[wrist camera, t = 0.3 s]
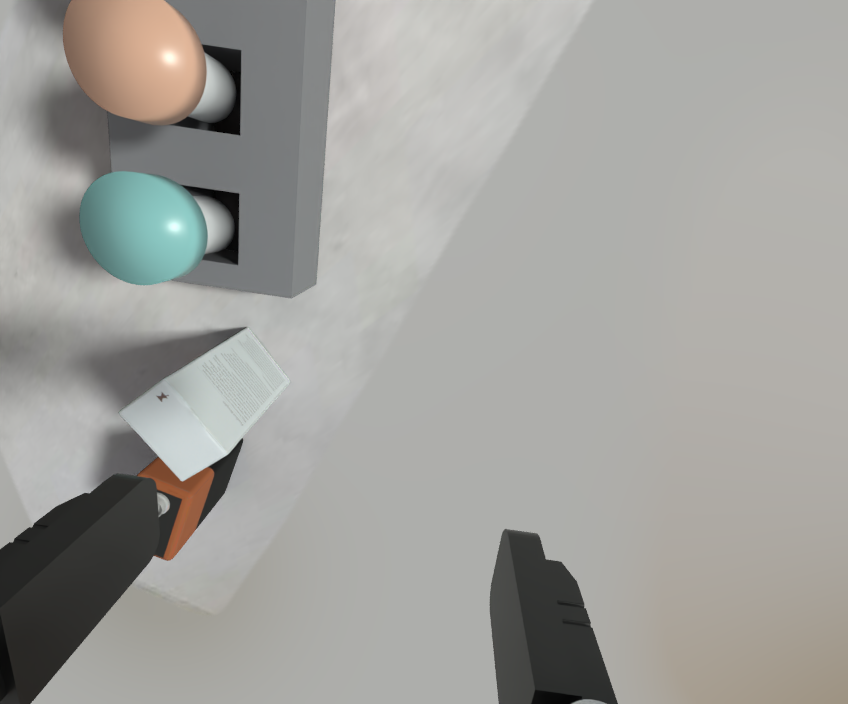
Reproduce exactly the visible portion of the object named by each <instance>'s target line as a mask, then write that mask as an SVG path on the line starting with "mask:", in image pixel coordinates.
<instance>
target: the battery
mask: <svg viewBox="0 0 848 704" xmlns="http://www.w3.org/2000/svg"><path fill="white" fill-rule="evenodd" d="M242 443H243V438H242V439H241V440H240V441H239V442H238V443H237V445H236V446H235V447H234V448H233V449H232V451H231V452H230V453H229V454H228V455H227V456H225V457H223V458H221V459H220V460H218V461H217V462H215V463H213V464H212V465H210V466H208V467H206V468H205V469H203V470H201V471H200V472H198V473H196V474H195V475H193V476H191V477H190V478H188V479H186V480H185V481H180V479H179V478H178V477H177V476H176V475H175V474H174V473H173V472H172V471H171V469H170V468H169V467H168V466H167V465H166V464H165V463H164V462H163V461H162V460H161V459H160V458H159V457H157V458H156V459H155V460H154V461H153V462H152V463H150V464H149V465H148V466H147V467H146V468H145V469H143V470H142V471H141V472H140V473H139V474H138V475H137V476H140V477H147V478H152V479H153V480H154V481H155V482H156V486H157V499H158V514H159V528H160V537H159V543H158V546H157V549H156V551H155V554H154V556H156V557H159V558H161V559H164V560H167V561H168V560H171V559H173V558H174V557H175V555H176V554H177V553H178V552H179V550H180V549H181V548H182V547H183V545H184V544H185V543H186V541H187V540H188V539H189V538H190V536H191V535H192V534H193V533H194V531H195V530H196V529H197V527H198V526H199V525H200V524H201V522H202V521H203V520H204V519H205V517H206V516H207V515H208V513H209V512H210V511H211V510H212V508H213V507H214V506H215V505H216V503H217V502H218V501H219V499H220V498H221V497H222V496H223V494H224V493H225V491H226V488H227V485H228V483H229V480H230V477H231V474H232V471H233V469H234V466H235V463H236V460H237V458H238V455H239V452H240V449H241V446H242Z"/></svg>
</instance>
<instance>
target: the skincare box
mask: <svg viewBox="0 0 848 704" xmlns="http://www.w3.org/2000/svg"><path fill="white" fill-rule="evenodd" d="M289 384H290V380H289V379H288V377H287V376H286V375H285V374H284V372H283V371H282V370H281V369H280V367H279V366H278V365H277V364H276V362H275V361H274V360H273V358H272V357H271V356H270V355H269V353H268V352H267V351H266V349H265V348H264V347H263V346H262V344H261V343H260V342H259V341H258V339H257V338H256V337H255V335H254V334H253V333H252V332H251V330H250V329H249V328H248V327H247V328H245V329H243V330H241V331H240V332H238V333H237V334H235V335H233V336H232V337H230V338H229V339H227V340H226V341H224V342H222V343H221V344H219V345H217V346H216V347H214V348H212V349H211V350H209V351H208V352H206V353H204V354H203V355H201V356H200V357H198V358H196V359H195V360H193V361H192V362H190V363H188V364H187V365H185V366H184V367H182V368H181V369H179V370H178V371H176V372H174V373H172V374H171V375H169V376H167V377H165V378H164V379H162V380H161V381H160V382H158V383H157V384H156V385H154V386H153V387H151V388H150V389H149V390H147V391H146V392H145V393H143V394H142V395H140V396H139V397H138V398H136V399H135V400H134V401H132V402H131V403H129V404H128V405H127V406H125V407H124V408H123V409H121V410H120V411H119V415H120V416H121V417H122V418H123V419H124V420H125V421H126V422H127V423H128V424H129V425H130V426H131V427H132V428H133V430H134V431H135V432H136V433H137V434H138V435H139V436H140V437H141V438H142V439H143V440H144V441H145V442H146V444H147V445H148V446H149V447H150V448H151V449H152V450H153V451H154V452H155V453H156V454H157V455H158V456H159V458H160V459H161V460H162V461H163V462H164V463H165V464H166V465H167V466H168V467H169V468H170V469H171V471H172V472H173V473H174V474H175V475H176V476H177V477H178V478H179V479H180V481H185V480H186V479H188V478H190V477H191V476H193V475H195V474H196V473H198V472H200V471H201V470H203V469H205V468H206V467H208V466H210V465H212V464H213V463H215V462H217V461H218V460H220V459H221V458H223V457H225V456H227V455H228V454H229V453H230V452H231V451H232V449H233V448H234V447H235V446H236V445H237V443H238V442H239V441H240V440H241V439H242V437H243V436H244V435H245V434H246V433H247V432H248V431H249V429H250V428H251V427H252V426H253V425H254V424H255V423H256V421H257V420H258V419H259V418H260V417H261V416H262V415H263V413H264V412H265V411H266V410H267V409H268V408H269V407H270V405H271V404H272V403H273V402H274V401H275V400H276V399H277V397H278V396H279V395H280V394H281V393H282V392H283V391H284V390H285V388H286V387H287V386H288V385H289Z"/></svg>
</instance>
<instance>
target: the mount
mask: <svg viewBox="0 0 848 704" xmlns="http://www.w3.org/2000/svg"><path fill="white" fill-rule="evenodd" d="M164 1H166V2H167V3H169V4H170V5H171V6H173V7H174V8H175V9H177V10H178V11H179V12H180V13H181V14H182V15H183V16H184V17H185V18H186V19H187V20H188V21H189V22H190V24H191V25H192V27H193V28H194V30H195V31H196V33H197V35H198V37H199V39H200V42H201V44H202V47H203V50H204V52H205V53H206V54H208V55H210V56H211V57H213V58H214V59H216V60H218V61H219V62H220V63H222V64H223V65H224V66H225V67H226V68H227V69H228V70H229V71H236V72H241V117H240V135H233V134H226V133H220V132H214V123H207V122H203V121H200V120H197V119H194V118H191V117H188V116H187V117H186V118H184V119H183V120H181V121H179V122H177V123H174V124H170V125H162V126H159V125H151V124H146V123H143V122H139V121H136V120H132V119H128V118H125V117H121V116H118V115H115V114H113V113H111V112H109V111H107V113H108V128H109V142H110V157H111V172H119V171H127V172H137V173H146V174H155V175H160V176H164V177H166V178H169V179H171V180H173V181H175V182H177V183H178V184H180V185H181V186H182V187H184V188H185V189H186V190H187V191H188V192H189V193H190V194H191V195H192V196H208V197H212V198H215V190H220V191H226V192H233V193H239V251H233V250H227V249H223V250H221V251H219V252H214V253H208V254H204V256H203V258H202V260H201V262H200V263H199V265H198V266H197V267H196V268H195V269H194V270H193V271H191V272H190V273H189V274H187V275H185V276H182V277H180V278H176V279H172V281H179V282H186V283H192V284H199V285H206V286H212V287H219V288H226V289H232V290H239V291H246V292H252V293H259V294H266V295H272V296H279V297H286V298H293V297H295V296H297V295H298V294H300V293H302V292H304V291H305V290H307V289H309V288H310V287H312V286H314V285H316V280H317V265H318V250H319V235H320V220H321V205H322V191H323V176H324V161H325V146H326V131H327V117H328V102H329V87H330V72H331V57H332V42H333V28H334V13H335V0H164Z"/></svg>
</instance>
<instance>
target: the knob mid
mask: <svg viewBox="0 0 848 704" xmlns="http://www.w3.org/2000/svg"><path fill="white" fill-rule="evenodd" d="M63 43H64V50H65V54H66V58H67V61H68V64H69V67H70V69H71V71H72V73H73V75H74V77H75V79H76V81H77V82H78V84H79V85H80V87H81V88H82V89H83V91H84V92H85V93H86V94H87V95H88V96H89V97H90V98H91V99H92V100H93V101H94V102H95V103H96V104H97V105H99V106H100V107H102V108H103V109H105V110H107V111H109V112H111V113H113V114H115V115H118V116H121V117H125V118H128V119H132V120H136V121H139V122H143V123H146V124H151V125H159V126H162V125H170V124H174V123H177V122H179V121H181V120H183V119H184V118H186V117H187V116H188V117H191V118H194V119H197V120H200V121H203V122H207V123H216V122H219V121H222V120H223V119H225V118H226V117H227V116H228V115H229V114H230V113H231V112H232V110H233V108H234V105H235V102H236V86H235V83H234V80H233V77H232V75H231V74H230V72H229V71H228V69H227V68H226V67H225V66H224V65H223V64H222V63H220V62H219V61H218V60H216V59H214V58H213V57H211V56H210V55H208V54H206V53H205V52H204V50H203V47H202V44H201V42H200V39H199V37H198V35H197V33H196V31H195V30H194V28H193V27H192V25H191V24H190V22H189V21H188V20H187V19H186V18H185V17H184V16H183V15H182V14H181V13H180V12H179V11H178V10H177V9H175V8H174V7H173V6H171V5H170V4H169V3H167V2H166V1H164V0H71V2H70V4H69V6H68V8H67V11H66V14H65V19H64V25H63Z"/></svg>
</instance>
